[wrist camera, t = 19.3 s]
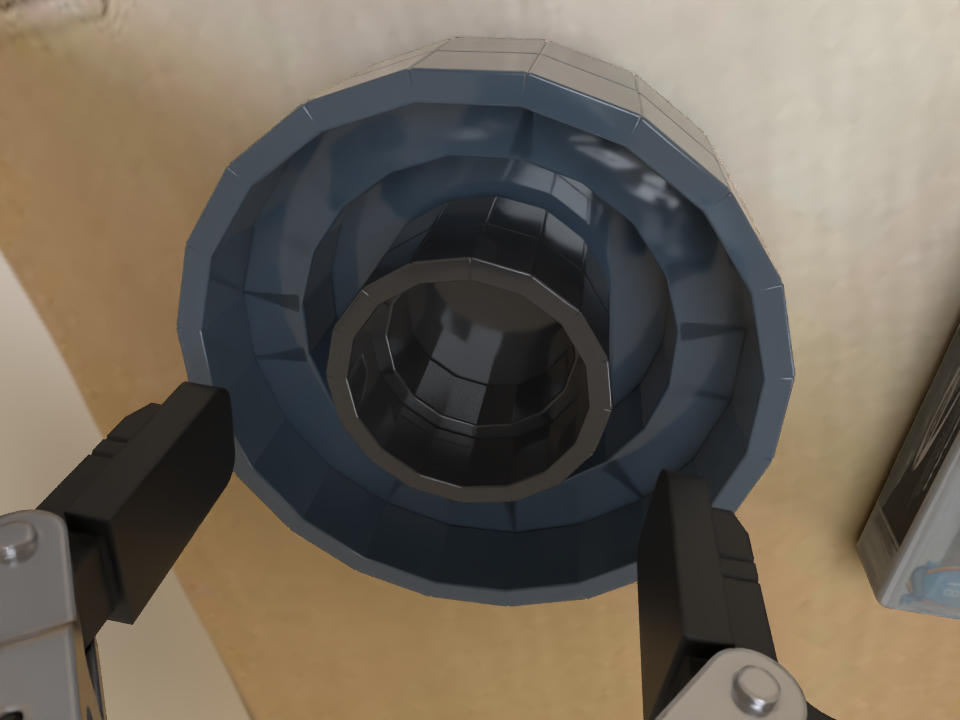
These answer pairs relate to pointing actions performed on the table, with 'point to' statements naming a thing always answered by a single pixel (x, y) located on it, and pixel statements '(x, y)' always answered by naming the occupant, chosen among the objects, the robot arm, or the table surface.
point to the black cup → (478, 353)
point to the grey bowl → (527, 179)
